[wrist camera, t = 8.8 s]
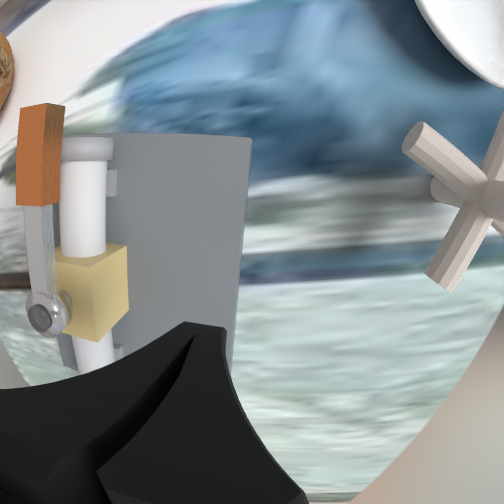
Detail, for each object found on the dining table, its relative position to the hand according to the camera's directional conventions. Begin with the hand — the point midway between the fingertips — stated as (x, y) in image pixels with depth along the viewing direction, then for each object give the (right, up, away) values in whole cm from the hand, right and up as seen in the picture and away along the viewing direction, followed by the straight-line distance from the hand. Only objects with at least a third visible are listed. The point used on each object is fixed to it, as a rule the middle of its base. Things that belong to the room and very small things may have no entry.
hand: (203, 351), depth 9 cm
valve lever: (-8, +4, +4) cm, 10 cm away
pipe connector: (+13, +7, +8) cm, 17 cm away
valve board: (-6, +2, +11) cm, 13 cm away
